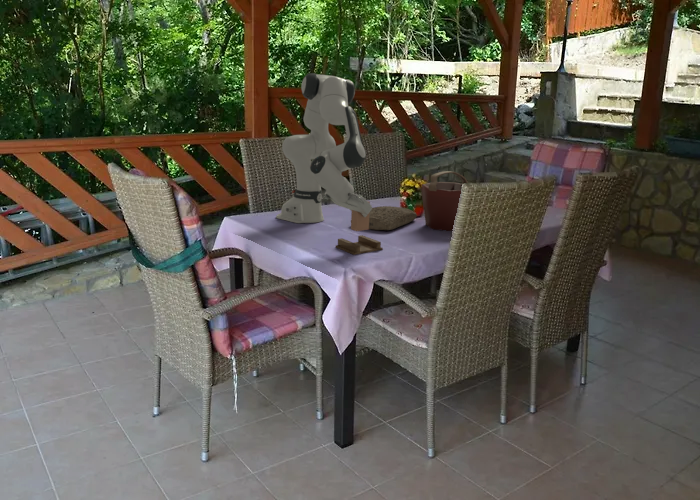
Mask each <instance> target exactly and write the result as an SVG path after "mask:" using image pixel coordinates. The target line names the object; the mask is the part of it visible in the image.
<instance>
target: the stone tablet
mask: <svg viewBox="0 0 700 500" xmlns="http://www.w3.org/2000/svg"><path fill="white" fill-rule="evenodd" d="M417 217H418V216H417V213H416V212H415V211H413V210H411V209H409V208H404V207H401V206H400V207H398V206H391V205H388V206H387V205H383V206H375V207H372V210H371V211H370V212H369V229H368V230H375V231H392V230H395V229H397V228H400V227H402V226H405V225H408V224H409V223H411V222H413V221H415V219H416V218H417Z"/></svg>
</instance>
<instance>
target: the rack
mask: <svg viewBox="0 0 700 500" xmlns="http://www.w3.org/2000/svg"><path fill="white" fill-rule="evenodd" d="M381 246H382V242H381V241H379V240H376V239H374V238H371V237H368V236H366V235H363V234H359V235H358V236H357V241H356V242H355V241H354V242H352V241H349V240H348V239H345V238H337V244H336V245H335V248H336V249H339V250H341V251H343V252H347V253H348V254H351V255H353V256H354V255H355V256H356V255H361V254H366V253H371V252H377V251H383V247H381Z"/></svg>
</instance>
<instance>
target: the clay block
mask: <svg viewBox="0 0 700 500" xmlns="http://www.w3.org/2000/svg"><path fill="white" fill-rule="evenodd" d="M367 201H368V200H367ZM368 202H369V204H370V205H371V201H368ZM350 216H351V218H350V230H352V231H354V232H361V231H368V230H370V229H369V214H368V215H367V216H366V217H363V216H362V215H361V213H360V212H357V211H354V210H352V211H351V215H350Z"/></svg>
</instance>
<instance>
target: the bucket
mask: <svg viewBox="0 0 700 500" xmlns="http://www.w3.org/2000/svg"><path fill="white" fill-rule="evenodd" d="M446 174H453V175H454V176H455V177H458V178H459V179H460V181H461V182H462V183H459V182H449V181H438V178H439V177H441V176H443V175H444V176H445V175H446ZM463 183H469V182H468V180H467V178H466V177H465V176H463V175H462V174H460V173H458V172H456V171H450V170H447V171H446V170H445V171H440V172H436V173H433V174H432V175H430V182H427V183H422V184H421V198H422V204H423V205H422V206H423V213H424V220H425V225H426V226H427V227H428V228H429V229H432V230H438V231H443V230H446V231H445V232H452V229H453V225H454V220H455V216H456V213H457V208H458V203H459V198H460V194H461V186H462V184H463Z"/></svg>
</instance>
